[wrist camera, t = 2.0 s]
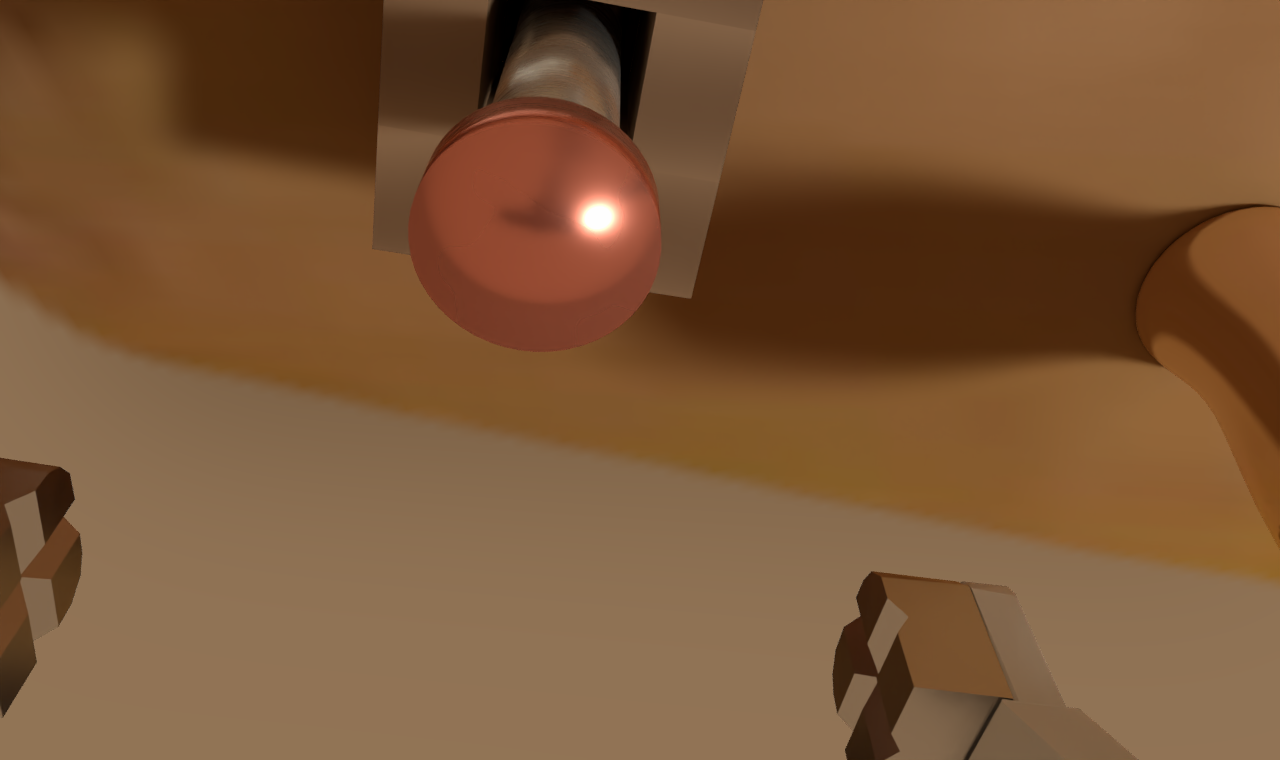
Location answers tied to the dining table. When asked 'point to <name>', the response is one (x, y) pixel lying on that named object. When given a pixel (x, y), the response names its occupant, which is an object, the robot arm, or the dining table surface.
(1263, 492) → the beer glass
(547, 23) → the pin
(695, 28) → the block
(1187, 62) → the dining table surface
